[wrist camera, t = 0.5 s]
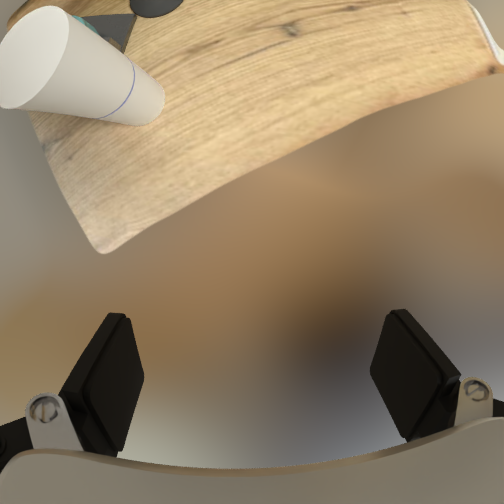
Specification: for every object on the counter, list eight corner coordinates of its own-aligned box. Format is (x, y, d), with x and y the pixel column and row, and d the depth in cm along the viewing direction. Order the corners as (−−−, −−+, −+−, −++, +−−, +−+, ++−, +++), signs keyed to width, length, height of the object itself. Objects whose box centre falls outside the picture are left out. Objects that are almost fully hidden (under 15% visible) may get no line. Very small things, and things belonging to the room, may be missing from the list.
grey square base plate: (44, 94, 31) (18, 89, 24) (68, 21, 27) (46, 8, 20) (111, 95, 33) (89, 86, 26) (137, 16, 28) (121, -3, 22)
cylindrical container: (137, 136, 35) (14, 131, 11) (107, 104, 33) (-22, 75, 9) (175, 99, 34) (89, 34, 10) (143, 68, 32) (42, -8, 8)
